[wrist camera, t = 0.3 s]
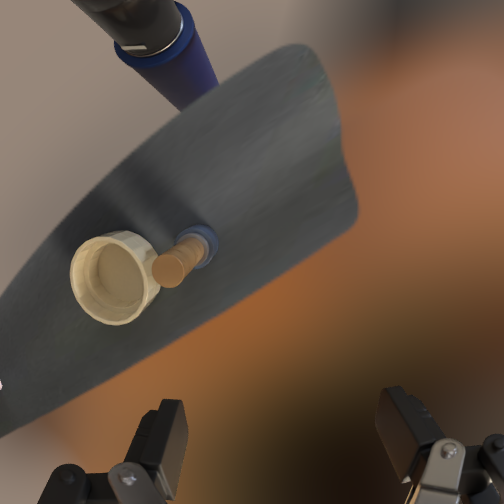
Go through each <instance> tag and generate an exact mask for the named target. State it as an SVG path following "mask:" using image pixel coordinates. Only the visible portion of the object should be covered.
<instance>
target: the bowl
mask: <svg viewBox="0 0 504 504" xmlns="http://www.w3.org/2000/svg"><path fill="white" fill-rule="evenodd" d="M157 257H158V255H157V253H156V252H155V250H154V249H153V247H152V246H151V245H150V243H149V242H148V241H146V240H145V239H144V238H142V237H141V236H140V235H138V234H135V233H132V232H130V231H114V232H111V233H107V234H104V235H101V236H98V237H95V238H92V239H90V240H88V241H86V242H84V243H83V244H82V245H81V246H80V247H79V248H78V249H77V251H76V253H75V255H74V257H73V259H72V262H71V269H70V280H71V287H72V290H73V292H74V295H75V297H76V299H77V301H78V302H79V304H80V305H81V307H82V308H83V309H84V310H85V312H87V313H88V314H89V315H90V316H91V317H93V318H94V319H96V320H98V321H100V322H102V323H105V324H110V325H121V324H125V323H129V322H131V321H132V320H133V319H135V318H136V317H138V316H139V315H140V314H141V313H142V312H143V310H144V309H145V308H146V307H147V306H148V305H149V304H150V303H151V302H152V301H153V300H154V298H155V297H156V295H157V294H158V292H159V290H160V286H161V285H159V284H158V283H157V282H156V281H155V279H154V278H153V275H152V264H153V262H154V260H155V259H156V258H157Z"/></svg>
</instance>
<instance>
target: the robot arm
mask: <svg viewBox="0 0 504 504" xmlns="http://www.w3.org/2000/svg"><path fill="white" fill-rule="evenodd" d="M71 1H72V2H73V3H74V4H76V5H77V6H78V7H79V8H80V9H81V10H82V11H84V12H85V13H86V14H87V15H88V16H89V17H90V18H91V19H92V20H94V22H96V23H97V24H98V25H99V26H100V27H101V28H102V29H103V30H104V31H105V32H106V33H107V34H109V35H110V36H111V37H112V38H113V39H114V40H115V41H116V42H117V43H118V44H119V45H120V46H121V48H122V49H123V50H124V51H125V52H126V53H127V54H129V55H131V56H133V57H136V58H150V57H154V56H157V55H159V54H161V53H163V52H165V51H167V50H168V49H169V48H171V47H172V46H173V45H174V44H175V43H176V42H177V40H178V39H179V37H180V36H181V34H182V31H183V27H184V21H183V17H182V15H181V13H180V12H179V10H178V9H177V7H176V5H175V3H174V1H173V0H71ZM375 425H376V429H377V431H378V433H379V436H380V438H381V440H382V442H383V444H384V446H385V449H386V451H387V453H388V455H389V457H390V460H391V462H392V464H393V466H394V468H395V471H396V473H397V475H398V477H399V480H400V482H401V483H406V482H409V481H411V482H412V484H413V486H412V488H411V490H410V493H409V495H408V497H407V500H406V502H405V504H458V503H459V500H460V498H461V500H462V502H463V504H504V435H502V434H493V435H490V436H488V437H487V438H486V439H485V441H484V442H483V444H482V445H477V446H467V447H464V446H463V444H462V443H461V442H459V441H458V440H455V439H452V438H446V437H445V435H444V433H443V432H442V431H441V429H440V428H439V426H438V425H437V423H436V422H435V420H434V419H433V417H431V415H430V413H429V412H428V410H426V407H425V406H424V405H423V403H422V402H421V401H420V400H419V399H417V398H416V397H414V396H413V395H409V396H407V394H406V393H405V391H404V390H403V388H402V387H401V386H395V387H389V388H384V389H382V391H381V394H380V398H379V403H378V407H377V411H376V415H375ZM138 427H139V428H138V429H137V431H136V433H135V436H134V438H133V440H132V443H131V445H130V447H129V450H128V452H127V455H126V457H125V459H124V462H123V463H119V464H117V465H115V466H114V467H112V469H111V470H110V471H109V472H108V473H90V474H86V473H85V471H84V470H83V469H82V468H81V467H79V466H78V465H75V464H64V465H61V466H59V467H57V468H56V469H55V470H54V471H53V472H52V474H51V476H50V478H49V480H48V482H47V484H46V487H45V489H44V491H43V493H42V495H41V497H40V499H39V501H38V503H37V504H167V502H166V501H165V500H172V501H174V500H175V496H176V491H177V486H178V482H179V477H180V473H181V468H182V463H183V459H184V454H185V450H186V446H187V441H188V425H187V421H186V416H185V411H184V406H183V402H182V401H181V400H173V399H163V400H162V401H161V404H160V407H159V409H158V411H157V410H150V411H149V412H148V413H146V414H145V415H144V416H143V417H142V419H141V421H140V424H139V426H138ZM492 481H493V483H494V485H495V487H496V488H497V490H498V492H499V495H500V496H499V495H498V493H497V491H496V489H495V487H494V486H493V484H492Z"/></svg>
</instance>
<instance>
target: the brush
mask: <svg viewBox="0 0 504 504" xmlns="http://www.w3.org/2000/svg"><path fill="white" fill-rule="evenodd" d="M218 245H219V242H218V237H217V235H216V233H215V232H214V230H213V229H211V228H210V227H208V226H206V225H203V224H197V225H193V226H191V227H189V228H187V229H185V230H183V231H182V232H180V233H179V234H178V236H177V237H176V239H175V241H174V246H173V247H172V248H170V249H169V250H167V251H166V252H164V253H163V254H161V255H160V256H158V257H157V258H156V259H155V260H154V262H153V264H152V275H153V278H154V279H155V281H156V282H157V283H158V284H159V285H161V286H163V287H167V288H172V287H175V286H177V285H179V284H180V283H181V282H182V280H183V279H184V278H185V277H186V276H187V275H188V274H189V272H190V271H191V270H192V269H199V268H202V267H204V266H206V265H207V264H208V263H209V262H210V261H211V259H212V258H213V256H214V255H215V254H216V252H217V250H218Z"/></svg>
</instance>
